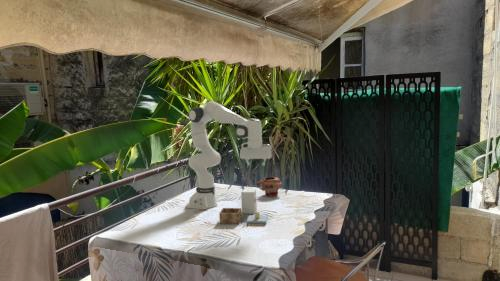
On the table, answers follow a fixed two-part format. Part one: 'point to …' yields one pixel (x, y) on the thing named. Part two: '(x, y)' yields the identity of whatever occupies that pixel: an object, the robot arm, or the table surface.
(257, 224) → the coaster
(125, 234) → the table surface
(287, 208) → the table surface
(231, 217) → the walnut box
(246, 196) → the supplement box
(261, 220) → the lid
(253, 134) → the robot arm
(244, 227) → the table surface
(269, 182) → the decorative planter
